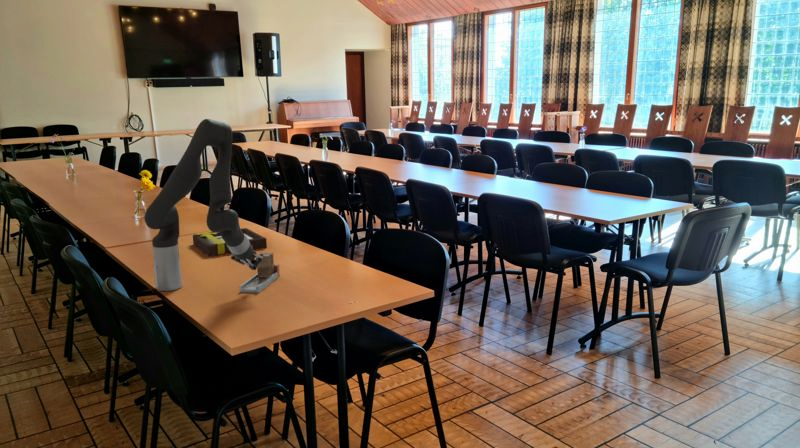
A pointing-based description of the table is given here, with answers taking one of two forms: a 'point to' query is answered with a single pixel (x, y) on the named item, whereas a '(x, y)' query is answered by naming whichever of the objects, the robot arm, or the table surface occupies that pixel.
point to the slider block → (266, 265)
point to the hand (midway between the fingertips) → (254, 267)
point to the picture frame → (216, 245)
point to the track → (259, 282)
